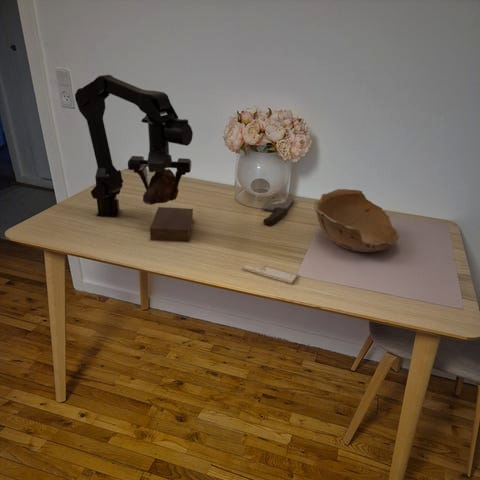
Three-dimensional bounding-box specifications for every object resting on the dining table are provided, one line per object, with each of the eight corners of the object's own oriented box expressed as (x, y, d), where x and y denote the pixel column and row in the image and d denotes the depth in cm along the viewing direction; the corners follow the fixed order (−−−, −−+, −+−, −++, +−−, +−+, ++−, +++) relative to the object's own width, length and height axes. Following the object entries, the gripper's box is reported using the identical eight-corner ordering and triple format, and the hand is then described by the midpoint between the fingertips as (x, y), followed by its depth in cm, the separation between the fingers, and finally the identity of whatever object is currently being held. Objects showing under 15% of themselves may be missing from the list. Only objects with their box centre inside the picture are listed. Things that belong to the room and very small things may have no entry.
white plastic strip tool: (251, 262, 130) (251, 259, 129) (297, 276, 124) (298, 273, 124) (243, 269, 126) (243, 265, 125) (291, 284, 121) (291, 280, 120)
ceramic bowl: (412, 257, 134) (417, 211, 126) (325, 270, 135) (324, 224, 126) (380, 221, 159) (382, 180, 151) (306, 232, 160) (304, 192, 151)
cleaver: (277, 227, 152) (278, 221, 151) (250, 222, 154) (251, 216, 153) (294, 201, 175) (295, 195, 174) (271, 197, 177) (272, 191, 176)
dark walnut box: (150, 240, 138) (149, 228, 136) (158, 217, 153) (158, 207, 151) (188, 241, 139) (188, 230, 137) (192, 219, 154) (192, 208, 151)
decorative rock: (172, 196, 146) (169, 163, 140) (182, 200, 142) (180, 166, 136) (140, 203, 139) (137, 168, 133) (151, 208, 135) (147, 172, 129)
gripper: (121, 145, 123) (126, 199, 132) (187, 148, 123) (188, 202, 132) (129, 136, 132) (134, 187, 141) (191, 139, 132) (191, 190, 141)
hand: (161, 191), depth 138 cm, fingers closed on decorative rock, 8 cm apart
